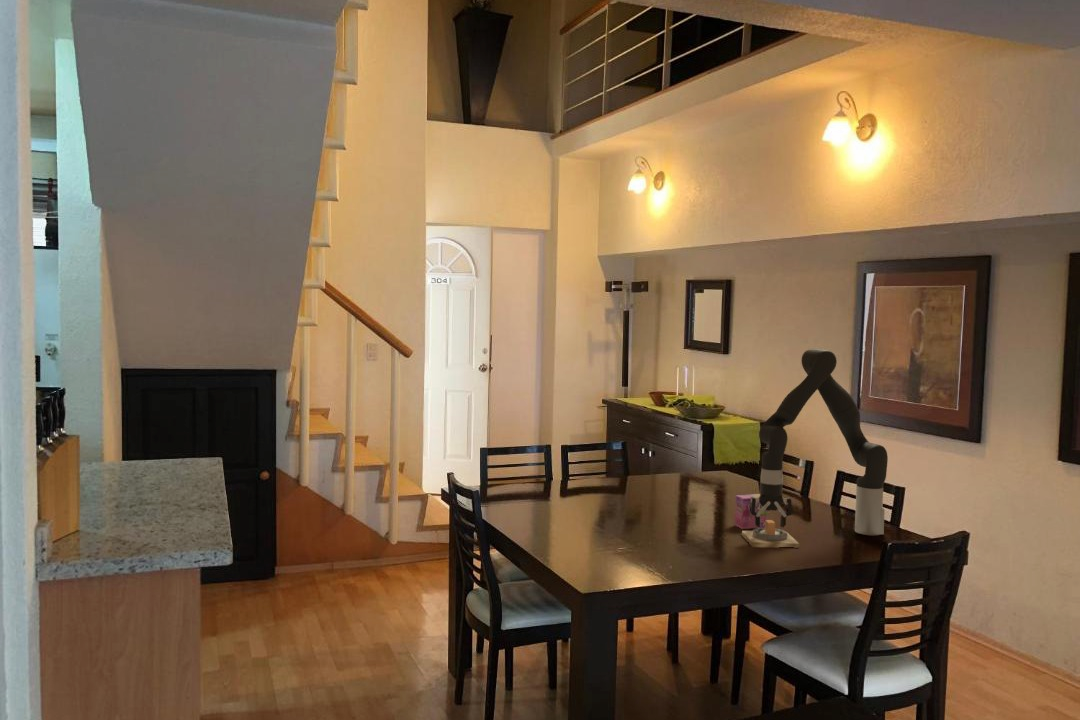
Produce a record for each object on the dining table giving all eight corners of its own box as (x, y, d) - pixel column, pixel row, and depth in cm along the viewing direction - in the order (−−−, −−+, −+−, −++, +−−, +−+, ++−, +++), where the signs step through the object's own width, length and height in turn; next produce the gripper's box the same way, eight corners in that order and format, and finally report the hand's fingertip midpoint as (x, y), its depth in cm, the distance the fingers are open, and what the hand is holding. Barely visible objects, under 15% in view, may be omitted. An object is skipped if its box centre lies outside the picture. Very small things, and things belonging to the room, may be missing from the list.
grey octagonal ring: (780, 533, 310) (781, 527, 309) (789, 541, 299) (789, 535, 299) (750, 532, 310) (750, 527, 309) (758, 540, 299) (758, 535, 299)
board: (785, 535, 312) (786, 531, 312) (798, 547, 296) (799, 543, 296) (741, 534, 312) (741, 530, 312) (752, 547, 296) (752, 542, 296)
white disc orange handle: (777, 534, 308) (777, 519, 307) (782, 539, 301) (782, 524, 300) (757, 534, 308) (758, 518, 307) (762, 539, 301) (762, 523, 300)
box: (741, 529, 320) (742, 498, 319) (734, 525, 326) (735, 494, 325) (766, 527, 323) (767, 496, 322) (758, 524, 328) (759, 493, 328)
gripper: (788, 479, 307) (787, 524, 308) (748, 479, 307) (747, 523, 308) (794, 484, 299) (793, 530, 300) (753, 483, 299) (752, 529, 300)
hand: (770, 526), depth 304 cm, fingers open, 8 cm apart
